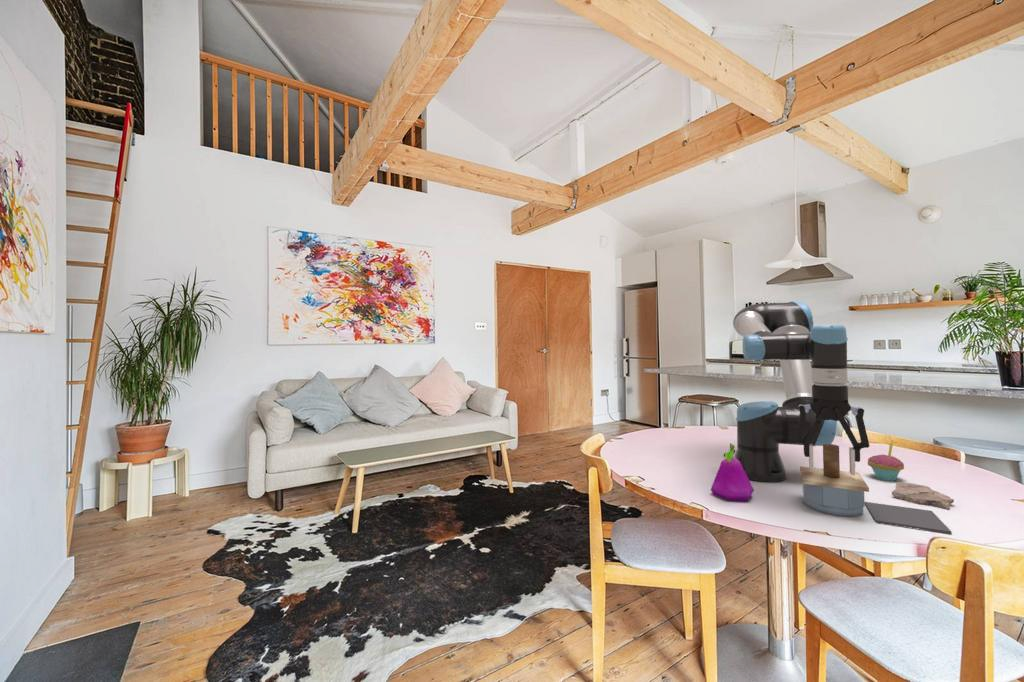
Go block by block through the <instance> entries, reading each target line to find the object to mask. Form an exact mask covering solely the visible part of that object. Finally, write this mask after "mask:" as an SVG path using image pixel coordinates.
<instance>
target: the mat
mask: <svg viewBox="0 0 1024 682" xmlns="http://www.w3.org/2000/svg"><path fill="white" fill-rule="evenodd" d="M864 503H865V508H866V509H867V510H869V511H868V512H869V514H870V516H871V515H872V516H871V517H872V519H873V521H874V520H875V521H874V523H875V522H877V523H876V524H881V523H884V524H883V525H887V524H892V525H891V526H894V525H898V526H897V527H900V526H906V527H905V528H907V527H912V528H911V529H913V528H919V529H918V530H920V529H924V530H923V531H926V530H929V531H928V532H934V533H939V534H946V535H952V534H953V533H952V531H951V530H950V528H949V527H947V525H946V524H945V523H944V522H943V521H942V519H940V518H939V517H938V516H937V515H936V514H935V513H934V511H932V510H928V509H921V508H920V509H919V508H914V507H913V508H912V507H907V506H899V505H891V504H884V503H877V502H869V501H864Z"/></svg>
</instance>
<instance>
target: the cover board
mask: <svg viewBox="0 0 1024 682" xmlns="http://www.w3.org/2000/svg"><path fill="white" fill-rule="evenodd" d="M822 462H823V464H822V466H823V467H822V468H820V467H813V469H814V471H811V470H810V469H809V466H804V465H803V466H802V465H801V466H799V472H800V475H801V478H802V479H801V481H802V480H803V484H810V485H818V486H826V487H834V488H842V489H850V490H857V491H864V493H865V492H867V493H870V487H869V486H868V484H867V483H866V481H865V480H864V478H863V477H862V475H861V474H860V472H858V471H857V472H856V471H855V475H851V473H850V471H846V470H841V468H840V466H841V465H840V464H841V463H840V445H837V444H834V443H831V444H823V446H822ZM803 484H802V485H803Z"/></svg>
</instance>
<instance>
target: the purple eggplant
mask: <svg viewBox="0 0 1024 682" xmlns="http://www.w3.org/2000/svg"><path fill="white" fill-rule="evenodd" d="M735 447H736V446H735V445H734V444H732V443H729V451H728V452H725V453H724V454H723V458H724V459H722V460H721V462H720V464H719V467H718V470H717V471H716V472H717V473H716V475H715V477H714V480H713V483H712V485H711V488H710V490H711V492H712V494H713V495H714V496H716V497H718V498H721V499H723V500H725V501H728V502H748V501H749V499H750V498H751V497H752V495H753V493H754V491H755V489H754V487H753V485H752V483H751V480H749V479H748V477H747V475H746V473H745V471H744V469H743V467H742V465H741V463H740V461H739V460H738V459H736V458H735V454H736V449H735Z"/></svg>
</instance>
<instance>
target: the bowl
mask: <svg viewBox="0 0 1024 682" xmlns="http://www.w3.org/2000/svg"><path fill="white" fill-rule="evenodd" d="M801 481H802V483H801V484H802V495H803V496H802V499H803V504H804V505H805V506H806V507H807V508H809V509H811V510H813V511H817V512H819V513H822V514H827V515H831V516H838V517H847V518H849V517H850V518H851V517H859V516H861V515H863V514H864V508H866V505H865V491H857V490H850V489H842V488H834V487H826V486H818V485H810V484H803V480H802V479H801Z"/></svg>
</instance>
